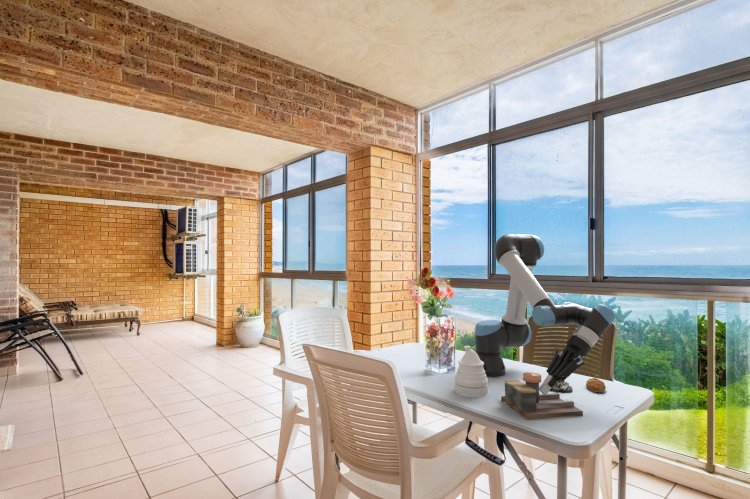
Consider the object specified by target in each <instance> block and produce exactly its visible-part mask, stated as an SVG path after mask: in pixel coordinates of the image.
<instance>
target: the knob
mask: <svg viewBox="0 0 750 499" xmlns="http://www.w3.org/2000/svg"><path fill="white" fill-rule="evenodd" d="M522 380H523V381H524V382H525V385H527V386H529V387H531V388H532V389H534V390H536V403H541V402H540V401H539V394H540V391H539V387H540V383H542V374H540V373H539V372H538V373H537V372H531V371H527V372H523V373H522Z"/></svg>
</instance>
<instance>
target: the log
mask: <svg viewBox="0 0 750 499" xmlns="http://www.w3.org/2000/svg"><path fill="white" fill-rule="evenodd" d="M549 391H550V392H551V393H559V394H572V393H573V392H574V391H573V387H572V386H571V385H570V383H569V382H568V381H566V380H564V381H561V380H560V381H557V382H556V384H555V385H554V386H553V387H552V388H551V389H550V390H549Z"/></svg>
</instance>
